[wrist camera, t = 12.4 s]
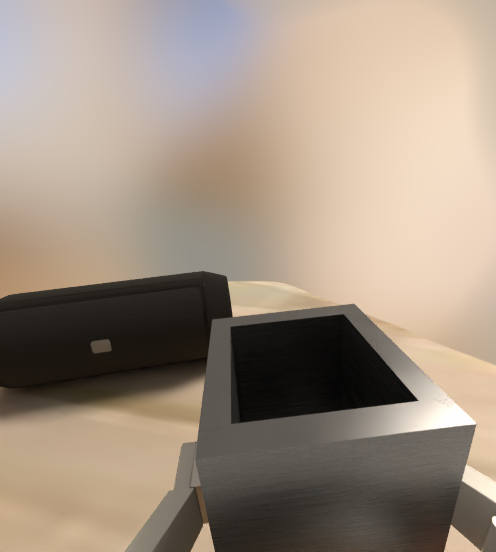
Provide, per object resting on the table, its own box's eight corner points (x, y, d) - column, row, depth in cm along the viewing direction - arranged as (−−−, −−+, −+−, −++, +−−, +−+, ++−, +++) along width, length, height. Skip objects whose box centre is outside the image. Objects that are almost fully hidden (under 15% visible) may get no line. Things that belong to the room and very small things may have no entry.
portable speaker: (-23, 416, 26) (-72, 325, 23) (37, 355, 35) (8, 284, 32) (239, 372, 29) (229, 286, 26) (231, 326, 38) (223, 258, 35)
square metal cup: (416, 658, 9) (476, 423, 5) (243, 685, 9) (195, 459, 5) (345, 478, 14) (354, 303, 11) (238, 492, 14) (212, 319, 10)
